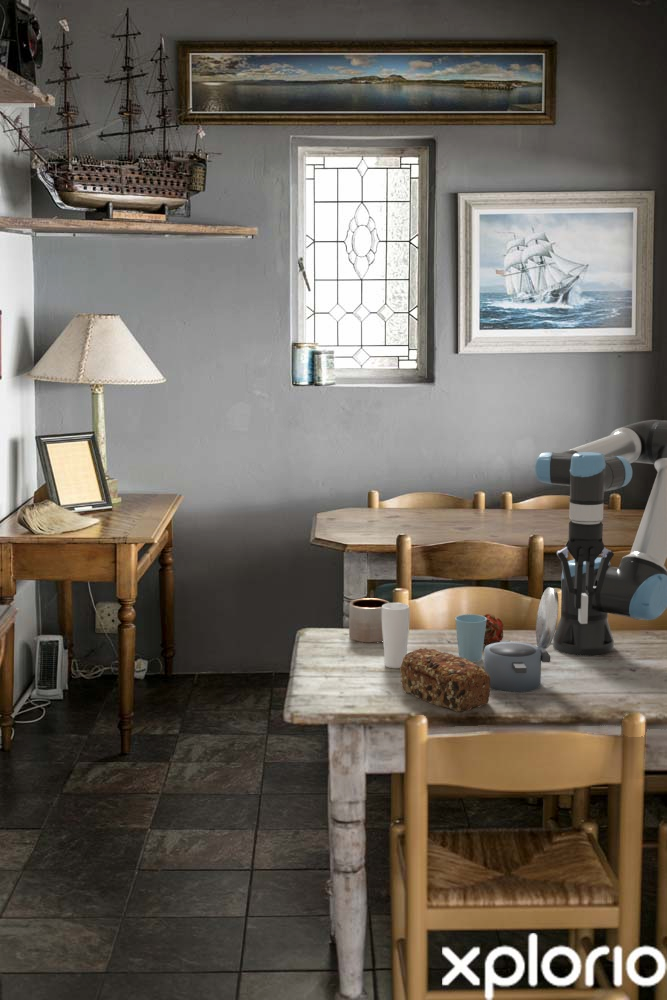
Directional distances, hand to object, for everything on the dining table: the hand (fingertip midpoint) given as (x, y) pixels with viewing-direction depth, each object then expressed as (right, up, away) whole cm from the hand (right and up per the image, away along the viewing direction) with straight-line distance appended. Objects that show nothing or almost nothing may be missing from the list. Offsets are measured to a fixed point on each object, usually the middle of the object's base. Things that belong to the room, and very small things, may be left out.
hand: (582, 622), depth 257 cm
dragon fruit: (-18, -9, +34) cm, 39 cm away
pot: (-16, -14, +2) cm, 22 cm away
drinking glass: (-42, -13, +15) cm, 47 cm away
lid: (-9, +1, 0) cm, 9 cm away
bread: (-32, -16, -8) cm, 37 cm away
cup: (-23, -12, +21) cm, 33 cm away
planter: (-48, -9, +39) cm, 62 cm away
